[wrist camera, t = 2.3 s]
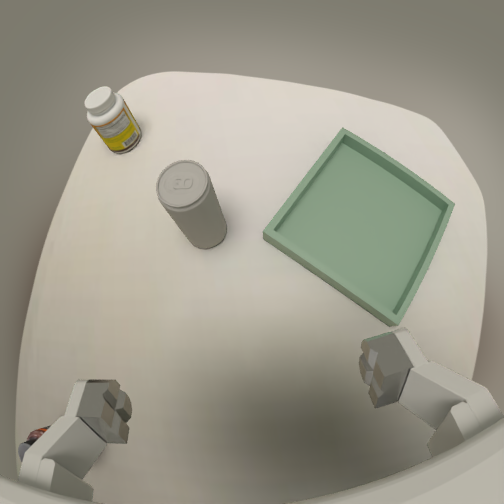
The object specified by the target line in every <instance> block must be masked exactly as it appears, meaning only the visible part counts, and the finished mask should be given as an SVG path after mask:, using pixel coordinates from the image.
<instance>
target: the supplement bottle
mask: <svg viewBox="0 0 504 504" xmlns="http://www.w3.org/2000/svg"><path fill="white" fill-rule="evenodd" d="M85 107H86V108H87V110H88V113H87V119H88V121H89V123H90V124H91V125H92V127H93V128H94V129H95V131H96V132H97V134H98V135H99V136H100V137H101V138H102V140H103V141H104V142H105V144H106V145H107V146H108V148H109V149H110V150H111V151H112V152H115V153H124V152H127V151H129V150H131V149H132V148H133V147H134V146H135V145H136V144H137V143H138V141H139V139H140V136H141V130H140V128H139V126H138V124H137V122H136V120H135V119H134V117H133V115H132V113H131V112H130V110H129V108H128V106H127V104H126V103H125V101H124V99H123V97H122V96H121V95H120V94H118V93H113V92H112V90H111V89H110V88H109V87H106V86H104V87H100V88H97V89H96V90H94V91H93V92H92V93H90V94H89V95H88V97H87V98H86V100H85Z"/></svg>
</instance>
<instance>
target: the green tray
mask: <svg viewBox="0 0 504 504" xmlns="http://www.w3.org/2000/svg"><path fill="white" fill-rule="evenodd" d="M454 205H455V204H454V203H453V202H452V201H451V200H449V199H448V198H447V197H446V196H444V195H443V194H442V193H440V192H439V191H438V190H436V189H435V188H434V187H433V186H431V185H430V184H429V183H427V182H426V181H424V180H423V179H422V178H420V177H419V176H418V175H416V174H415V173H413V172H412V171H410V170H409V169H408V168H406V167H405V166H403V165H402V164H400V163H399V162H397V161H396V160H394V159H393V158H391V157H390V156H388V155H387V154H385V153H384V152H382V151H381V150H379V149H377V148H376V147H374V146H373V145H371V144H370V143H368V142H366V141H365V140H363V139H361V138H360V137H358V136H356V135H355V134H353V133H351V132H350V131H348V130H346V129H344V128H342V129H341V130H340V131H339V133H338V134H337V135H336V137H335V138H334V139H333V141H332V142H331V143H330V144H329V146H328V147H327V148H326V150H325V151H324V152H323V154H322V155H321V156H320V157H319V159H318V160H317V161H316V163H315V164H314V165H313V167H312V168H311V169H310V170H309V172H308V173H307V174H306V176H305V177H304V178H303V180H302V181H301V182H300V184H299V185H298V186H297V187H296V189H295V190H294V191H293V193H292V194H291V195H290V197H289V198H288V199H287V200H286V202H285V203H284V204H283V206H282V207H281V208H280V210H279V211H278V212H277V214H276V215H275V216H274V217H273V219H272V220H271V221H270V223H269V224H268V225H267V227H266V228H265V229H264V231H263V239H264V240H265V241H267V242H268V243H270V244H271V245H273V246H274V247H276V248H277V249H279V250H280V251H282V252H283V253H285V254H286V255H287V256H289V257H290V258H292V259H293V260H295V261H296V262H298V263H299V264H301V265H302V266H304V267H305V268H306V269H308V270H309V271H311V272H312V273H314V274H315V275H317V276H318V277H319V278H321V279H322V280H324V281H325V282H327V283H328V284H330V285H331V286H332V287H334V288H335V289H337V290H338V291H340V292H341V293H342V294H344V295H345V296H347V297H348V298H350V299H351V300H352V301H354V302H355V303H357V304H358V305H360V306H361V307H362V308H364V309H365V310H367V311H368V312H370V313H371V314H372V315H374V316H375V317H377V318H378V319H379V320H381V321H382V322H384V323H385V324H386V325H388V326H389V327H391V326H398V325H399V323H400V322H401V320H402V318H403V316H404V314H405V313H406V311H407V309H408V307H409V305H410V303H411V301H412V300H413V298H414V296H415V294H416V292H417V290H418V288H419V286H420V284H421V282H422V280H423V278H424V276H425V274H426V272H427V269H428V267H429V265H430V263H431V261H432V259H433V256H434V254H435V252H436V250H437V247H438V245H439V243H440V241H441V238H442V236H443V233H444V231H445V228H446V226H447V223H448V221H449V218H450V216H451V213H452V211H453V208H454Z"/></svg>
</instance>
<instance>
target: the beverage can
mask: <svg viewBox="0 0 504 504" xmlns="http://www.w3.org/2000/svg"><path fill="white" fill-rule="evenodd" d="M156 191H157V195H158V198H159V200H160V202H161V204H162V205H163V207H164V208H165V209H166V211H167V212H168V213H169V215H170V216H171V217H172V219H173V220H174V221H175V223H176V224H177V225H178V227H179V228H180V229H181V231H182V232H183V233H184V234H185V236H186V237H187V238H188V240H189V241H190V242H191V243H192V244H193V245H194V246H196V247H198V248H203V249H206V248H211V247H213V246H216V245H217V244H219V243H220V242H221V241H222V240H223V239H224V237H225V235H226V230H227V227H226V222H225V219H224V216H223V214H222V211H221V208H220V205H219V202H218V199H217V197H216V194H215V191H214V188H213V185H212V182H211V179H210V177H209V174H208V173H207V171H206V170H205V169H204V168H203V166H202V165H200V164H199V163H197V162H195V161H192V160H181V161H177V162H174V163H172V164H170V165H169V166H167V167H166V168H165V169H164V170H163V171H162V172H161V174H160V176H159V177H158V180H157V183H156Z"/></svg>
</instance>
